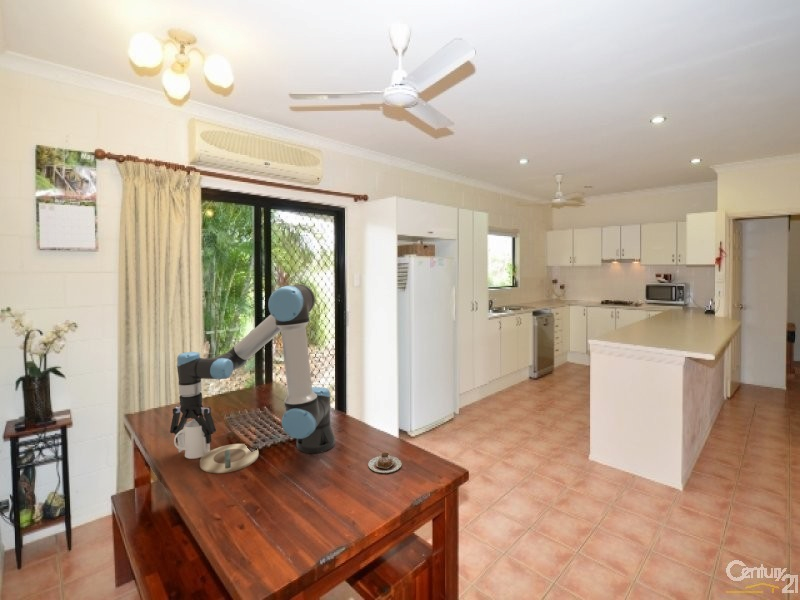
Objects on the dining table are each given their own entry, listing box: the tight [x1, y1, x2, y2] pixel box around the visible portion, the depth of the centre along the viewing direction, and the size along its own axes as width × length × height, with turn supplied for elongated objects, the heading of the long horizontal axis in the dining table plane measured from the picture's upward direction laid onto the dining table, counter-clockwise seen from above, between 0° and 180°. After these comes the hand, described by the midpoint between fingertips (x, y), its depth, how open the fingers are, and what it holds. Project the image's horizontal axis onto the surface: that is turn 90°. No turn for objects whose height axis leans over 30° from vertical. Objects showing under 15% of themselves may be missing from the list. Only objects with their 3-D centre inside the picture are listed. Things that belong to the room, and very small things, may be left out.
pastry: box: [367, 452, 403, 474], centre depth 142 cm, size 12×12×5 cm
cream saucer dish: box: [199, 443, 260, 474], centre depth 146 cm, size 20×20×7 cm
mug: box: [173, 419, 211, 460], centre depth 149 cm, size 12×8×12 cm
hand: (194, 450), depth 149 cm, fingers open, 10 cm apart
